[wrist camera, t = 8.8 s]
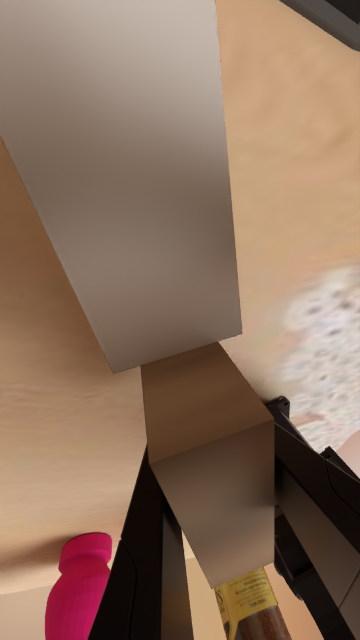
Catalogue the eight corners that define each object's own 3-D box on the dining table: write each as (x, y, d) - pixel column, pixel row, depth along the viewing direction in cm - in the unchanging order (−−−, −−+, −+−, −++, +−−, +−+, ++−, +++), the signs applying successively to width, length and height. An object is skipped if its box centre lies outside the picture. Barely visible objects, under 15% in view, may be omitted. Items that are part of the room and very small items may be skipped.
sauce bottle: (186, 504, 30) (272, 904, 12) (225, 482, 30) (366, 858, 12) (205, 518, 33) (294, 854, 16) (240, 498, 33) (370, 816, 15)
